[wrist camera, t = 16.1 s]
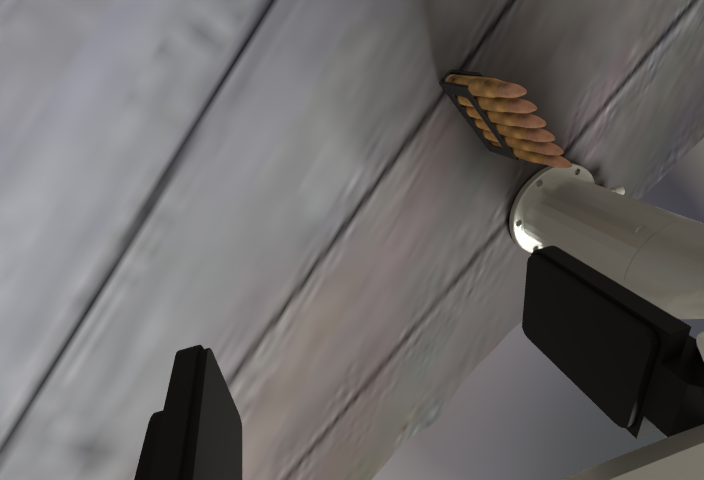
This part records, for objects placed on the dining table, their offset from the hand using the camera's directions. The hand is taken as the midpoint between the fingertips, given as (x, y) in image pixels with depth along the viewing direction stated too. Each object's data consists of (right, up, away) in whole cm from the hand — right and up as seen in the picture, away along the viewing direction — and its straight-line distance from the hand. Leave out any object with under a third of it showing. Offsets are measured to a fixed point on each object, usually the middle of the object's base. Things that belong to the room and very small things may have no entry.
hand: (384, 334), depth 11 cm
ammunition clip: (+12, +17, +31) cm, 38 cm away
